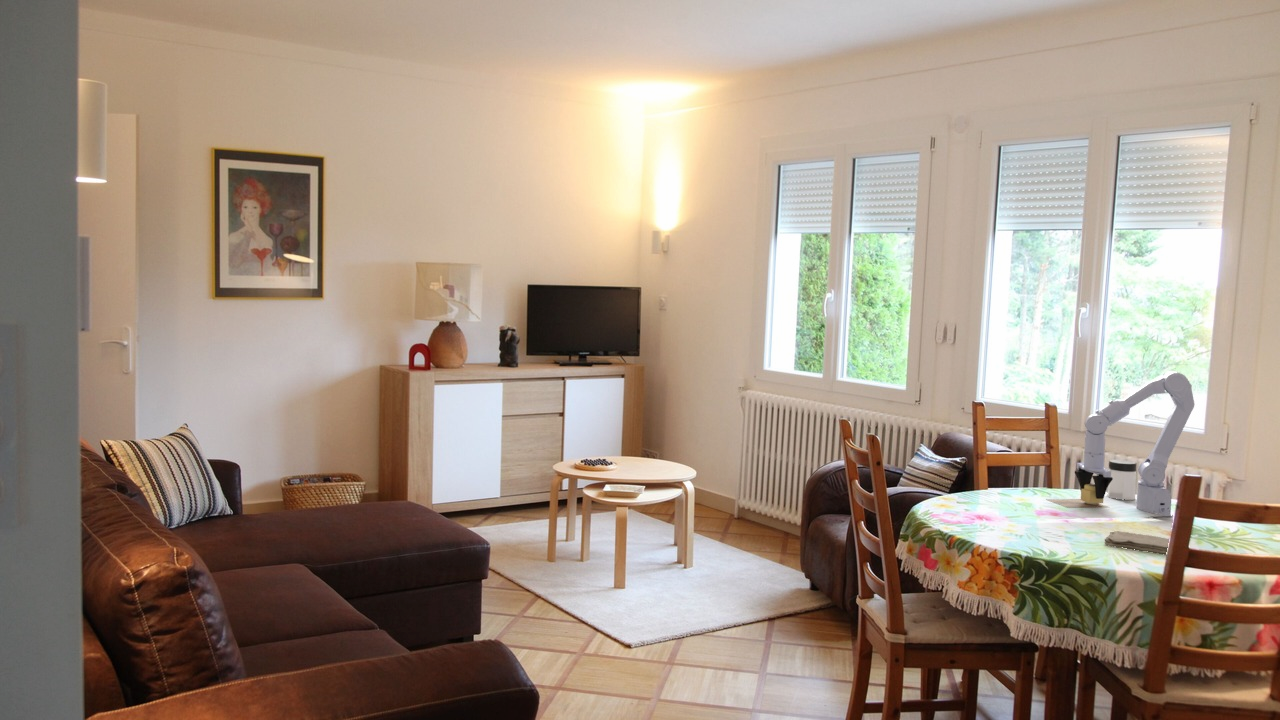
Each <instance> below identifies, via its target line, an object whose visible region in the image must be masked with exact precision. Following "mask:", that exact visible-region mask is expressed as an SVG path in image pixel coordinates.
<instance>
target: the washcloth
mask: <svg viewBox="0 0 1280 720" xmlns="http://www.w3.org/2000/svg"><path fill="white" fill-rule="evenodd" d="M1169 539H1170V538H1165V537H1160V536H1156V535H1149V534H1141V533H1133V532H1127V531H1121V530H1114V531H1111V532H1109V535H1107V536H1106V537H1105V538H1104V545H1105V546H1108V545H1110V546H1109V547H1112V546H1116V547H1115V548H1119V547H1123V548H1127V549H1126V550H1129V549H1132V550H1131V551H1136V550H1139V551H1138V552H1143V551H1148V552H1147V553H1149V552H1153V553H1152V554H1156V553H1159V554H1158V555H1163V554H1164V555H1163V556H1167V555H1166V552H1167V548H1168V543H1169ZM1123 548H1122V549H1123ZM1134 549H1135V550H1134Z"/></svg>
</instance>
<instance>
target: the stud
mask: <svg viewBox="0 0 1280 720" xmlns="http://www.w3.org/2000/svg"><path fill="white" fill-rule="evenodd" d="M1085 504H1087V505H1094V506H1097V505H1099V504H1100V503H1087V502H1085Z"/></svg>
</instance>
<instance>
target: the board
mask: <svg viewBox="0 0 1280 720" xmlns="http://www.w3.org/2000/svg"><path fill="white" fill-rule="evenodd" d="M1045 500H1046V501H1049V502H1050V503H1053V504H1057V505H1058V506H1060V507H1061V506H1062V507H1065V508H1068V509H1083V508H1085V509H1087V508H1088V509H1089V508H1091V509H1093V508H1109V506H1107V505H1104V504H1103V503H1099V505H1097V506H1094V505H1087V504H1085V501H1082V500H1081V498H1068V499H1067V498H1063V499H1062V498H1060V499H1059V498H1058V499H1057V498H1056V499H1055V498H1054V499H1048V498H1047V499H1045Z"/></svg>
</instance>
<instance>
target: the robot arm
mask: <svg viewBox="0 0 1280 720" xmlns="http://www.w3.org/2000/svg"><path fill="white" fill-rule="evenodd" d="M1192 388H1193V387H1192V383H1190V381H1189V380H1188V377H1186V375H1185V374H1183V373H1180V372H1178V371H1176V370H1169V371H1166V372H1164V373H1163V374H1162V375H1159V376H1157V377H1155V378H1154V379H1153V378H1152V380H1150V381H1149V382H1147V383H1145V384H1144V385H1142V386H1141V387H1139V388H1138V389H1137V390H1135V391H1134V392H1132V393H1131V394H1130V395H1128V396H1127V397H1125V398H1124V399H1114V400H1113V399H1111V400H1109V401H1108V404H1107V405H1106V406H1104V407H1102V408H1101V409H1096V410H1094V412H1095V413H1093V414H1089V416H1087V417H1086V418H1085V421H1084V427H1085V429H1086V430H1085V438H1084V450H1083V451H1084V452H1083V453H1084V454H1083V462H1077V463H1076V469H1077V470H1074V474H1075V476H1076V478H1077V480H1078V484H1079V488H1080V491H1081V489H1084V486H1085V485H1086V484H1089V483H1092V480H1093V483H1094V484H1095V493H1096V498H1097V499H1103V500H1104V498H1105V495H1106V493H1107V488H1108V485H1109V484H1110V482H1111V481H1112V480H1113V478H1112V477H1111V471H1109V470H1108V468H1105V451H1106V435H1105V433H1106V432H1107V429H1108V427H1109V426H1113V425H1115V424H1116V423H1118V422H1119V421H1121V420H1122V419H1124V418H1125V417H1127V416H1128V415H1129V414H1130V412H1131V411H1130V410H1131V409H1132V408H1133V407H1134V406H1136V405H1138V404H1140V403H1141V402H1143V401H1145V400H1146V399H1148V398H1150V397H1151V396H1153V395H1161V394H1162V395H1163V394H1166V393H1168V394H1169V395H1170V398H1171V401H1172V402H1173V404H1174V406H1173V408H1172V410H1171V412H1170V414H1169V416H1168V417H1167V420H1166V422H1165V424H1164V426H1163V428H1162V430H1161V432H1160V434H1159V436H1158V438H1157V440H1156V443H1155V444H1154V446H1153V449H1152V450H1151V452H1150V453H1149V454H1147V455H1148V456H1147V457H1146V459H1145V460H1144V461H1143V462H1141V463H1140V465H1139V466H1138V467H1137V468H1138V469H1137V471H1138V474H1139V476H1140V478H1139V480H1137V488H1136V489H1137V492H1136V509H1137V510H1139V511H1144V512H1147V513H1151V514H1154V515H1155V514H1156V515H1158V516H1161V517H1173V516H1174V515H1173V514H1172V511H1171V510H1172V494H1171V492H1170V490H1169V489H1168V488H1166V487H1165V482H1164V481H1165V479H1166V469H1167V467H1168V463H1169V459H1170V456H1171V454H1172V452H1173V450H1174V449H1175V446H1176V444H1177V441H1178V440H1179V438H1180V436H1181V434H1182V432H1183V430H1184V428H1185V426H1186V424H1187V421H1188V420H1189V419H1190V416H1191V413H1192V412H1193V410H1194V408H1195V400H1194V393H1193V389H1192ZM1094 474H1095V475H1094ZM1171 514H1172V516H1171Z"/></svg>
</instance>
